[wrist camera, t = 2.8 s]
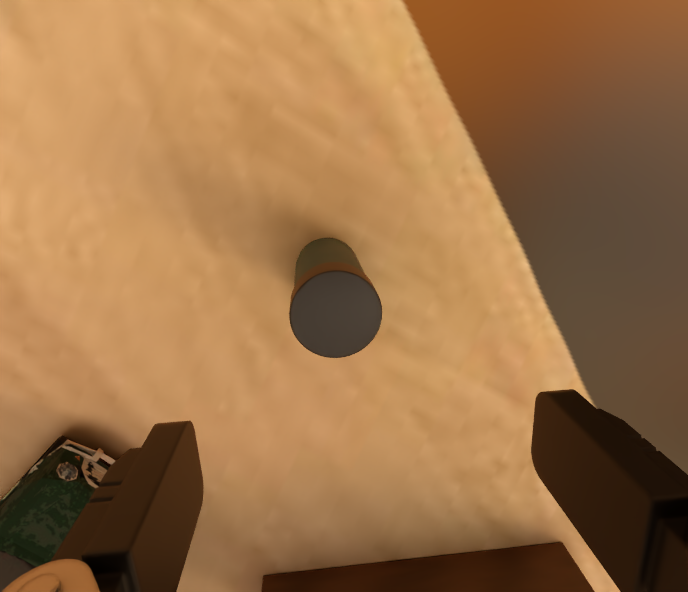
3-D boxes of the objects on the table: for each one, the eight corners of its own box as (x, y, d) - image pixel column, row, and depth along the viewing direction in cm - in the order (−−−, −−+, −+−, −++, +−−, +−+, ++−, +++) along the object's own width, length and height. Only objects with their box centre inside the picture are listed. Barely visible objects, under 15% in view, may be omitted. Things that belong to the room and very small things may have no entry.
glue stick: (296, 302, 27) (293, 362, 19) (291, 238, 26) (285, 274, 18) (361, 297, 27) (383, 354, 19) (358, 233, 26) (380, 267, 18)
